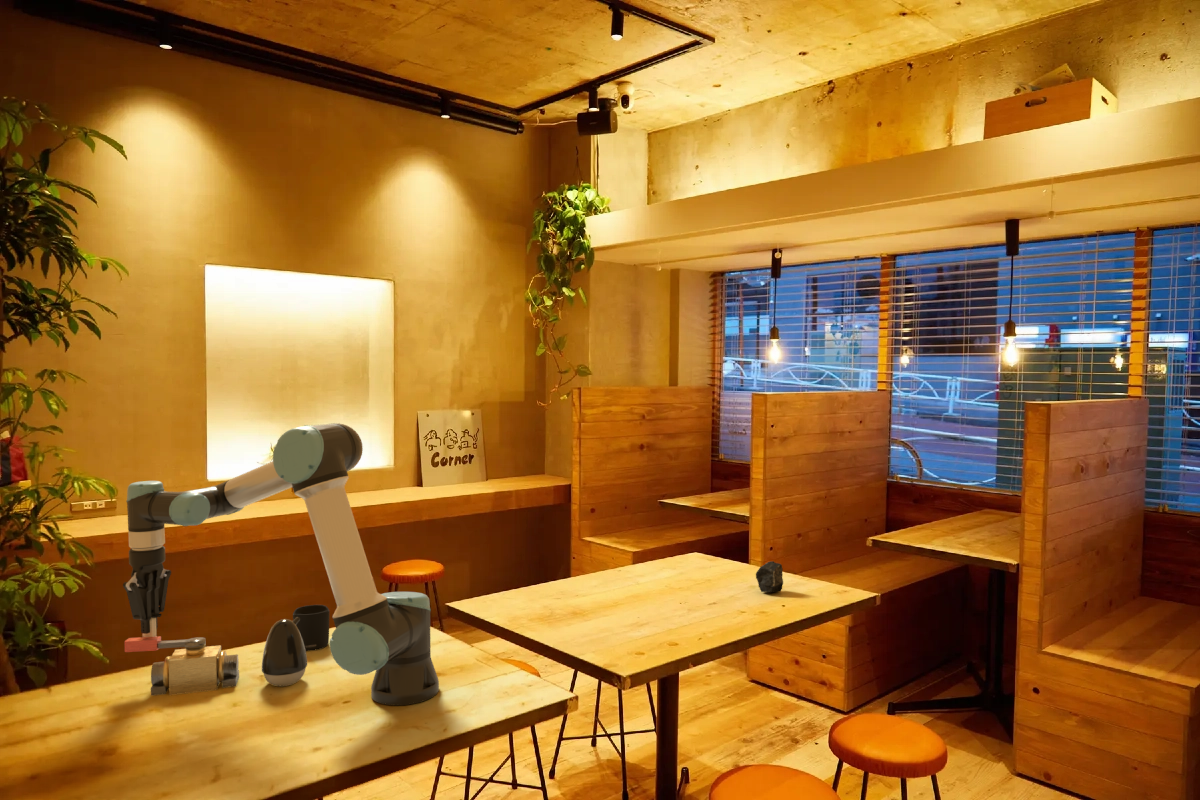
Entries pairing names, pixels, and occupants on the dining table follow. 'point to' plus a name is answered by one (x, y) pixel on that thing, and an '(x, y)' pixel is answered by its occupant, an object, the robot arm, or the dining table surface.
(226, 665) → the valve
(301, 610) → the pen holder
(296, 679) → the black egg-shaped shaker
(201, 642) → the lever
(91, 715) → the dining table surface
